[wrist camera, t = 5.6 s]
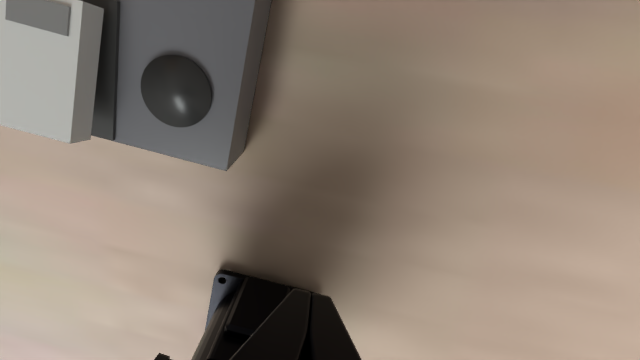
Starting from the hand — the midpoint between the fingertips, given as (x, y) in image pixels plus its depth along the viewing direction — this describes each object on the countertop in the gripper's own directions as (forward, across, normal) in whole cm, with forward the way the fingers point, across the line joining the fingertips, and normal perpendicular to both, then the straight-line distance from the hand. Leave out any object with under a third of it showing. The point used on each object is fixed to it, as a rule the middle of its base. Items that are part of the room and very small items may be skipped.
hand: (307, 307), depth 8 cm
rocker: (+8, +11, -2) cm, 14 cm away
